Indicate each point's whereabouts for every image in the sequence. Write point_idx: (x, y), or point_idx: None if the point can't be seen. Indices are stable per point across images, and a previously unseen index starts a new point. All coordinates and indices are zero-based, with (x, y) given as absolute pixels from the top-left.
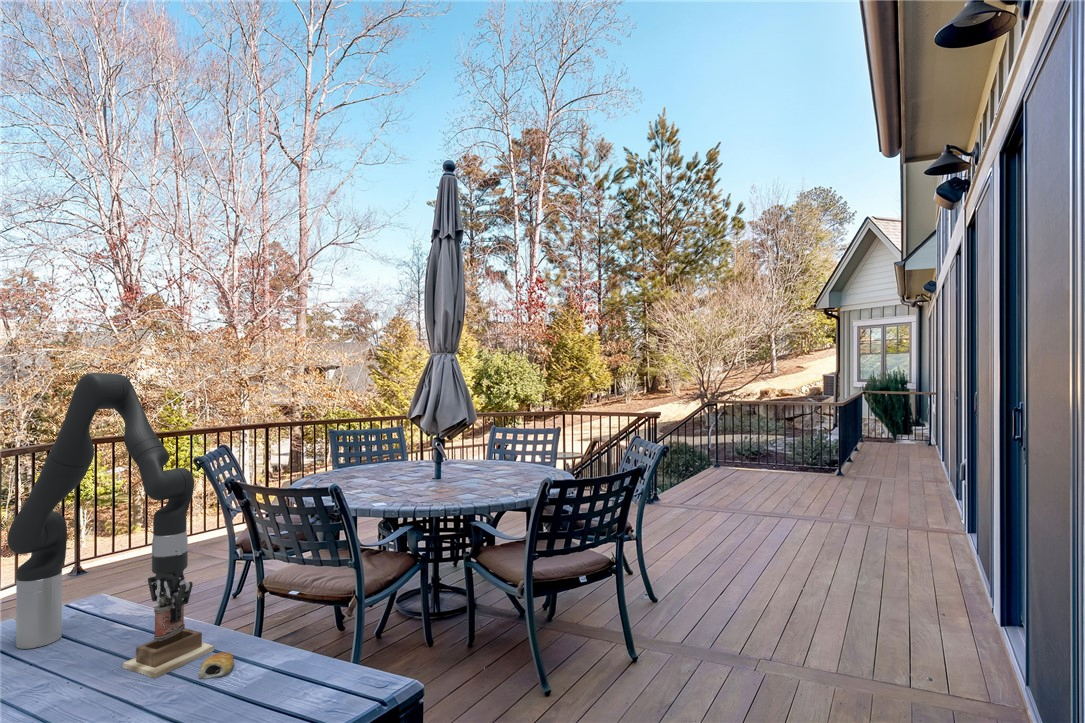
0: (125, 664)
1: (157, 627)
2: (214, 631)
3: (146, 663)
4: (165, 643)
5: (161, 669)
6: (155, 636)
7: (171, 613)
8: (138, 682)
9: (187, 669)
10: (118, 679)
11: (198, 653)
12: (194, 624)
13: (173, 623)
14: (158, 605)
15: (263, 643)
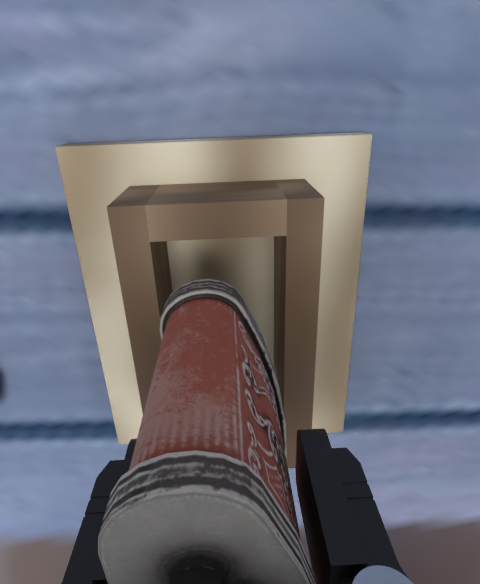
0: (342, 134)
1: (180, 343)
2: (300, 510)
3: (205, 184)
4: (280, 344)
5: (73, 191)
6: (206, 297)
7: None
8: (98, 66)
9: (32, 280)
10: (247, 29)
11: (105, 377)
12: (439, 510)
13: (135, 441)
14: (397, 563)
15: (16, 529)
